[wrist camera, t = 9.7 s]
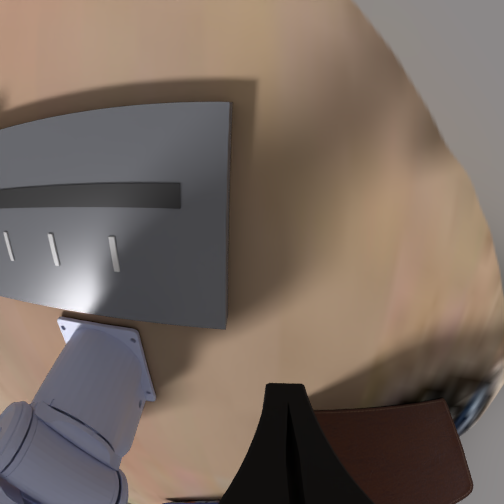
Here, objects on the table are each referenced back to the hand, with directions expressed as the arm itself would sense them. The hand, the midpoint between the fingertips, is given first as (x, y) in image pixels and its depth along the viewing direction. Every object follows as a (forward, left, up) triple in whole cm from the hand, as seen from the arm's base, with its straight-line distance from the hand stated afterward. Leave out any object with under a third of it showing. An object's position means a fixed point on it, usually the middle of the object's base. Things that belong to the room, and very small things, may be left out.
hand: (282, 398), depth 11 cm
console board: (+3, +18, -10) cm, 21 cm away
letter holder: (-21, -11, -10) cm, 26 cm away
